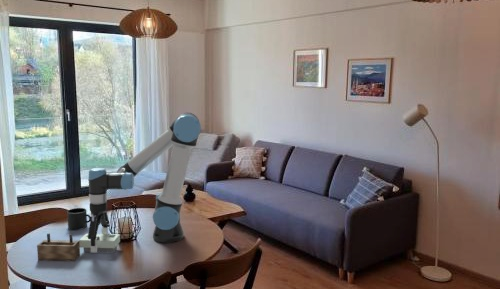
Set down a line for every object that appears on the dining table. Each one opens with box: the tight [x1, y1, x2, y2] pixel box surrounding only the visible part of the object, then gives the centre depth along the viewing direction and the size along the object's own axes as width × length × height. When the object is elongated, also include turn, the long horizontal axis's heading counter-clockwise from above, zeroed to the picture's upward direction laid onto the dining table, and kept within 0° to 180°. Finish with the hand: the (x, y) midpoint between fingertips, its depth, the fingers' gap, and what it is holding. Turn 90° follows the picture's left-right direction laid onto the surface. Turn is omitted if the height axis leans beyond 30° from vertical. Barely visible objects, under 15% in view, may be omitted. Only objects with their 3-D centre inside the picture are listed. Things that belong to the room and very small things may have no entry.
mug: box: [66, 207, 91, 231], centre depth 227 cm, size 9×12×9 cm
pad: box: [83, 245, 118, 254], centre depth 197 cm, size 14×4×3 cm, turn 89°
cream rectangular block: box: [78, 233, 121, 249], centre depth 196 cm, size 16×8×4 cm, turn 89°
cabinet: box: [36, 233, 81, 262], centre depth 188 cm, size 16×6×10 cm, turn 89°
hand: (99, 246), depth 197 cm, fingers open, 13 cm apart
